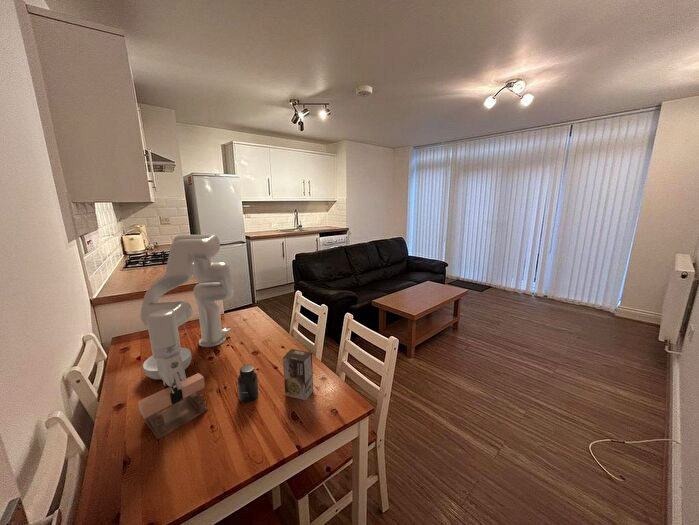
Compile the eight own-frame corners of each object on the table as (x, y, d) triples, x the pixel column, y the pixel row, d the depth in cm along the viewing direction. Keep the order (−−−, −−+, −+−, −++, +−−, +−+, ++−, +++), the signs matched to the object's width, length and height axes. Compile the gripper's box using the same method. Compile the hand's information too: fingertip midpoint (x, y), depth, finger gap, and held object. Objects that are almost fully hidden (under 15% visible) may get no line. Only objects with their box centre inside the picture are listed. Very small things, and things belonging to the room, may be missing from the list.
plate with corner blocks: (193, 396, 101) (191, 381, 100) (207, 410, 94) (205, 394, 93) (145, 421, 89) (142, 405, 88) (157, 439, 83) (154, 422, 81)
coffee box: (313, 390, 105) (312, 352, 101) (306, 401, 99) (304, 361, 95) (293, 384, 108) (291, 347, 104) (284, 395, 102) (282, 356, 98)
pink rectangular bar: (199, 382, 98) (198, 372, 98) (205, 387, 96) (203, 377, 95) (140, 412, 84) (137, 401, 84) (144, 418, 82) (142, 407, 81)
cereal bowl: (174, 358, 125) (172, 344, 123) (202, 365, 120) (200, 351, 118) (135, 380, 109) (132, 365, 108) (165, 390, 104) (162, 374, 102)
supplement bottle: (240, 406, 96) (237, 376, 94) (238, 394, 102) (235, 365, 100) (260, 399, 99) (257, 370, 97) (257, 388, 105) (254, 360, 103)
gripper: (191, 352, 84) (198, 403, 88) (169, 336, 94) (176, 382, 98) (163, 363, 78) (172, 417, 82) (143, 344, 88) (152, 393, 92)
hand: (174, 397), depth 90 cm, fingers closed on pink rectangular bar, 4 cm apart
